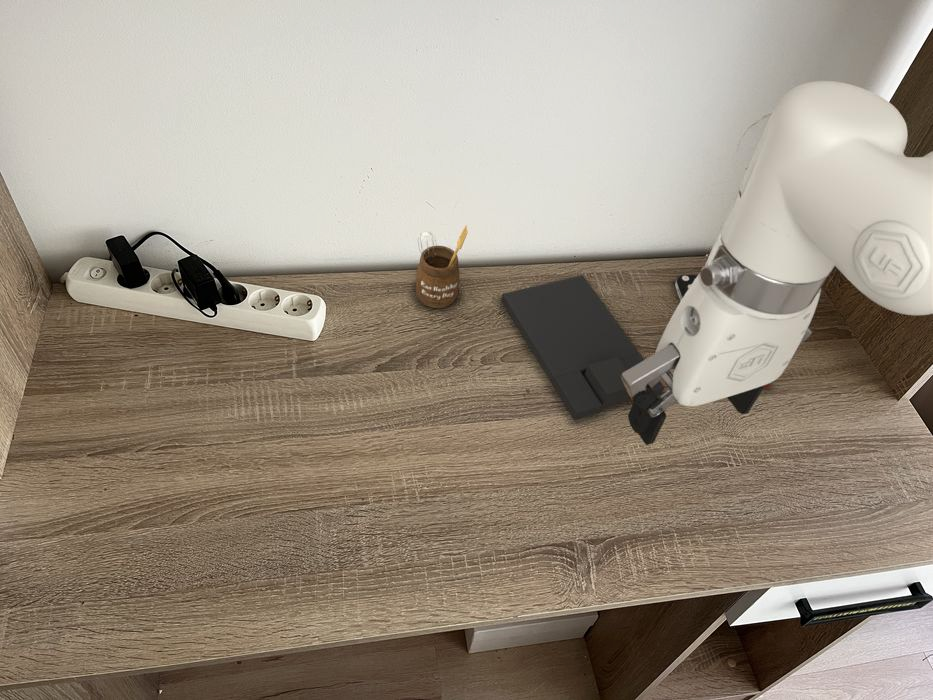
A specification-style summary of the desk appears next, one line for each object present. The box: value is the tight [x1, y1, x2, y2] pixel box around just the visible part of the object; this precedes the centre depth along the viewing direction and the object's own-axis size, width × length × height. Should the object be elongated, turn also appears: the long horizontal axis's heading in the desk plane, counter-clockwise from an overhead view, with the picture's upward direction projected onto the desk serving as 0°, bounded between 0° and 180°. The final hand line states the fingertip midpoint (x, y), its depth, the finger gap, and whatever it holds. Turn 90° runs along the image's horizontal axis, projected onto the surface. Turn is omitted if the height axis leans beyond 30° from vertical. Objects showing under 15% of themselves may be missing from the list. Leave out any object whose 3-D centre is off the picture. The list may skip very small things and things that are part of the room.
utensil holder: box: [415, 224, 469, 309], centre depth 101 cm, size 6×6×12 cm
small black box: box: [584, 357, 632, 409], centre depth 96 cm, size 5×4×3 cm
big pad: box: [500, 274, 665, 421], centre depth 101 cm, size 22×13×2 cm, turn 23°
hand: (687, 415), depth 64 cm, fingers open, 9 cm apart
